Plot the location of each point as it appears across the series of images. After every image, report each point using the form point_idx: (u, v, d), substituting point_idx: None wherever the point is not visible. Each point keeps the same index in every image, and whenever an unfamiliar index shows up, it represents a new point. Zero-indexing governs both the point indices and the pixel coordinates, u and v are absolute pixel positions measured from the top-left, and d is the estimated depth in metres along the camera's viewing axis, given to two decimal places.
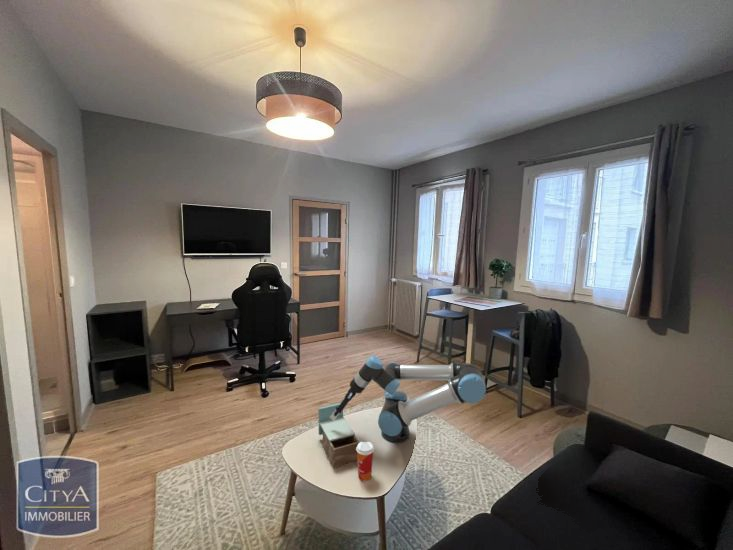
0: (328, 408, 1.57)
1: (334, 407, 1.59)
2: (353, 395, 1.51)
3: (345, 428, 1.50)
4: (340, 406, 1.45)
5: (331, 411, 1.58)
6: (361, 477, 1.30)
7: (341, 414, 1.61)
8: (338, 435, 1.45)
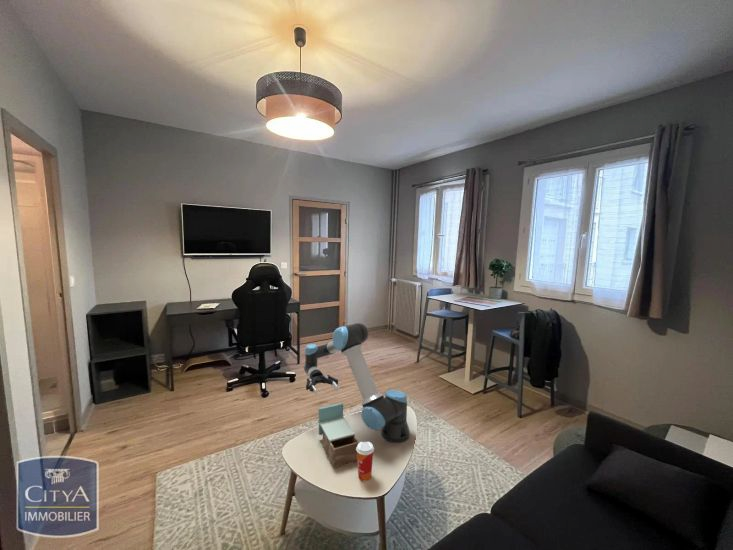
0: (328, 408, 1.57)
1: (334, 407, 1.59)
2: (315, 377, 1.77)
3: (345, 428, 1.50)
4: None
5: (331, 411, 1.58)
6: (361, 477, 1.30)
7: (341, 414, 1.61)
8: (338, 435, 1.45)
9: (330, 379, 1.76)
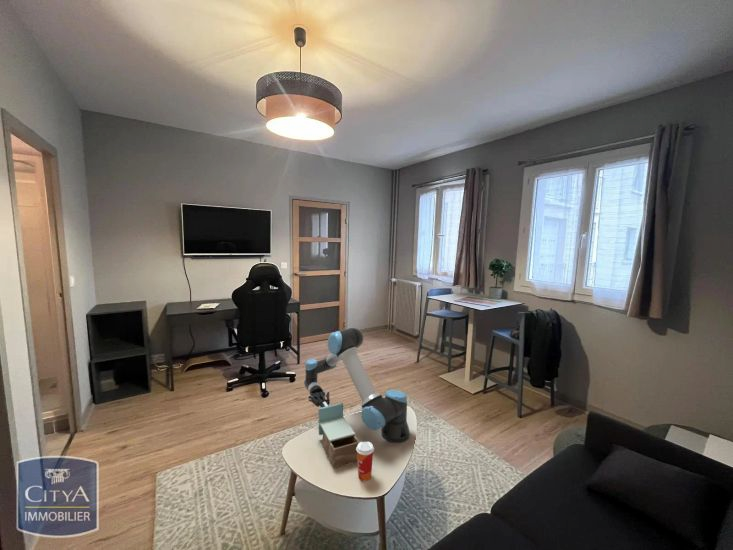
0: (328, 408, 1.57)
1: (334, 407, 1.59)
2: (315, 394, 1.78)
3: (345, 428, 1.50)
4: (315, 403, 1.71)
5: (331, 411, 1.58)
6: (361, 477, 1.30)
7: (341, 414, 1.61)
8: (338, 435, 1.45)
9: (324, 398, 1.74)
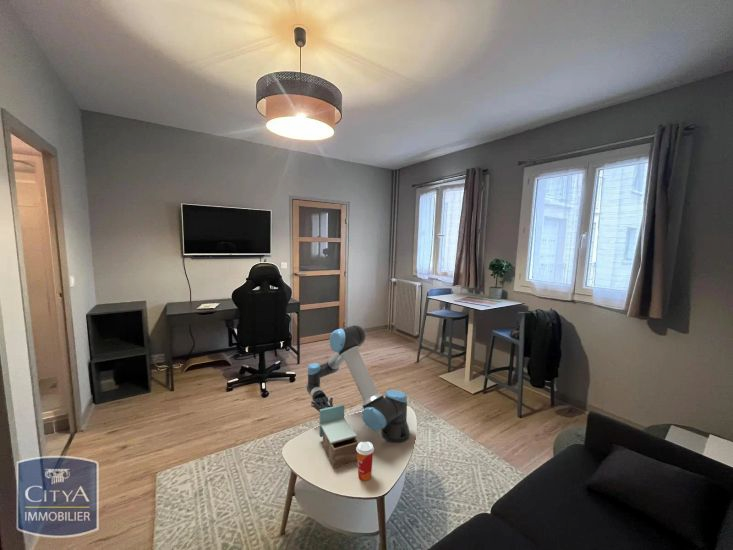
0: (329, 410, 1.56)
1: (335, 409, 1.57)
2: (318, 399, 1.72)
3: (346, 430, 1.49)
4: (318, 409, 1.65)
5: (332, 413, 1.57)
6: (361, 477, 1.30)
7: (342, 416, 1.59)
8: (339, 437, 1.43)
9: (328, 404, 1.68)
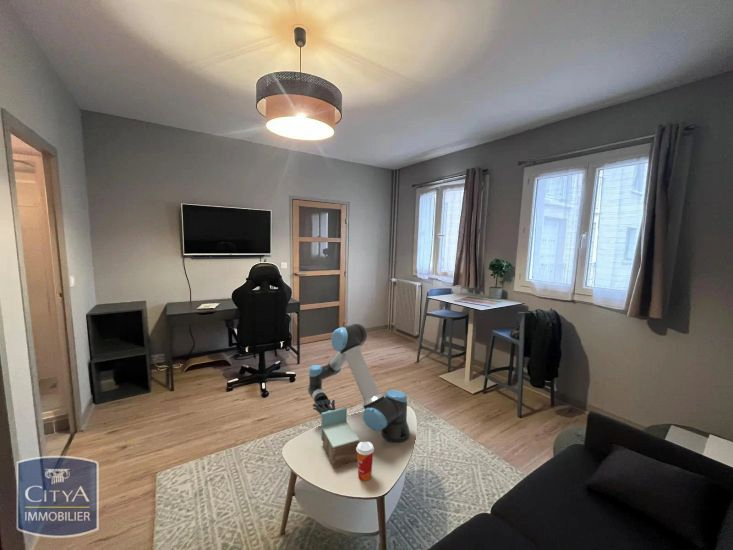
0: (331, 413, 1.53)
1: (337, 412, 1.54)
2: (320, 402, 1.69)
3: (349, 434, 1.46)
4: (320, 412, 1.62)
5: (334, 416, 1.54)
6: (361, 477, 1.30)
7: (345, 419, 1.56)
8: (342, 441, 1.40)
9: (330, 406, 1.65)
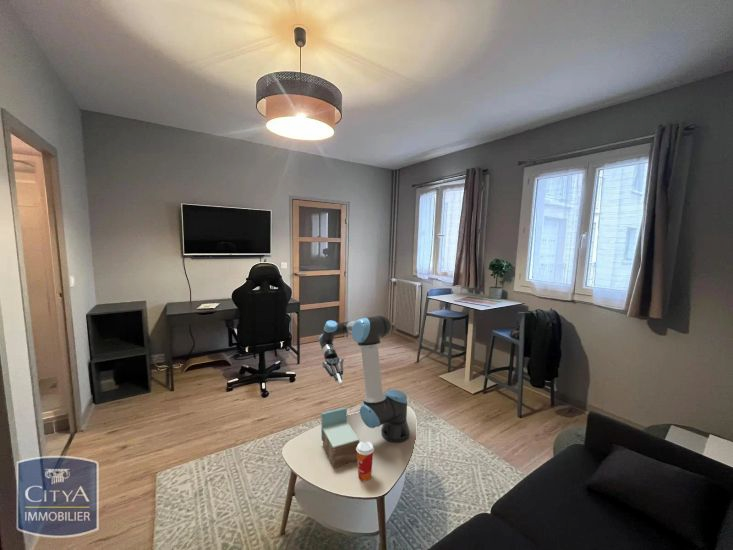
0: (331, 413, 1.53)
1: (337, 412, 1.54)
2: (329, 360, 1.76)
3: (349, 434, 1.46)
4: (328, 372, 1.71)
5: (334, 416, 1.54)
6: (361, 477, 1.30)
7: (345, 419, 1.56)
8: (342, 441, 1.40)
9: (338, 368, 1.72)
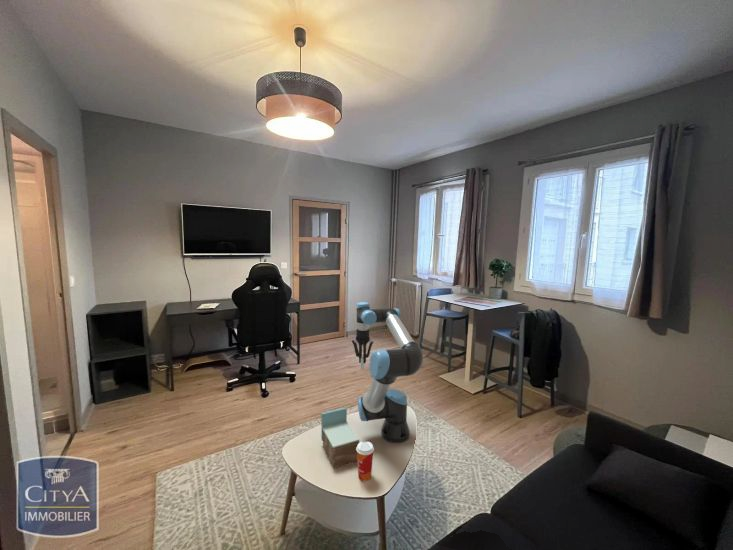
0: (331, 413, 1.53)
1: (337, 412, 1.54)
2: (359, 341, 1.75)
3: (349, 434, 1.46)
4: None
5: (334, 416, 1.54)
6: (361, 477, 1.30)
7: (345, 419, 1.56)
8: (342, 441, 1.40)
9: (364, 352, 1.75)
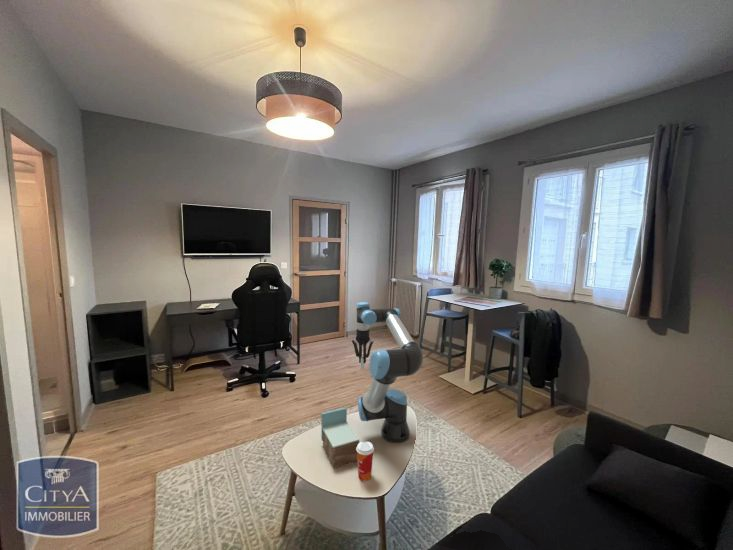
0: (331, 413, 1.53)
1: (337, 412, 1.54)
2: (359, 341, 1.75)
3: (349, 434, 1.46)
4: None
5: (334, 416, 1.54)
6: (361, 477, 1.30)
7: (345, 419, 1.56)
8: (342, 441, 1.40)
9: (364, 352, 1.75)
